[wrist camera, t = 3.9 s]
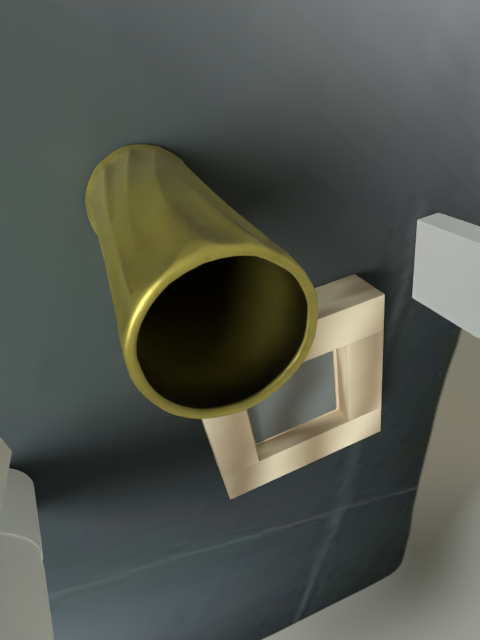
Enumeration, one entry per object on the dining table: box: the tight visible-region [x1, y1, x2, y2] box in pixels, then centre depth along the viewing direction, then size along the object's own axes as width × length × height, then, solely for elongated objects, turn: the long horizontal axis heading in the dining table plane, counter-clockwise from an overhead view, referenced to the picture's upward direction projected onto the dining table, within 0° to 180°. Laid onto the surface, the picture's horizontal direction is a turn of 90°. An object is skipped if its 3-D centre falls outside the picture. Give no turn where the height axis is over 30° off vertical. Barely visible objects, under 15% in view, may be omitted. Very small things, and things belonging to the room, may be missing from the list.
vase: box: [85, 144, 318, 419], centre depth 16 cm, size 6×6×14 cm
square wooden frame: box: [201, 274, 385, 500], centre depth 30 cm, size 14×14×4 cm
